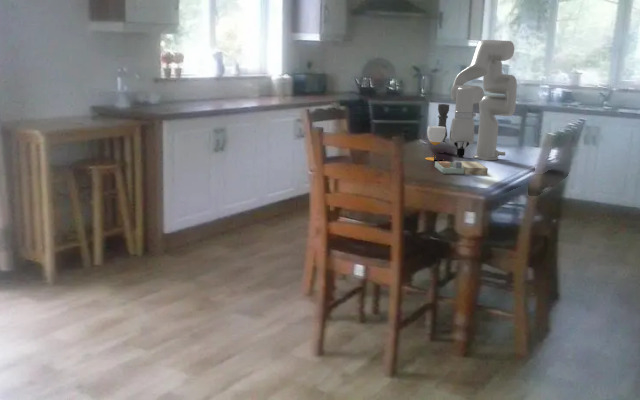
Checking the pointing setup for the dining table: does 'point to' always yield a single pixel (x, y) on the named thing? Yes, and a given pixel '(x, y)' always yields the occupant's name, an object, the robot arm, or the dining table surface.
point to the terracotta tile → (445, 164)
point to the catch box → (449, 169)
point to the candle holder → (443, 116)
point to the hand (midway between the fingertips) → (460, 156)
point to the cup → (435, 136)
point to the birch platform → (474, 168)
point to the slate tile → (457, 164)
